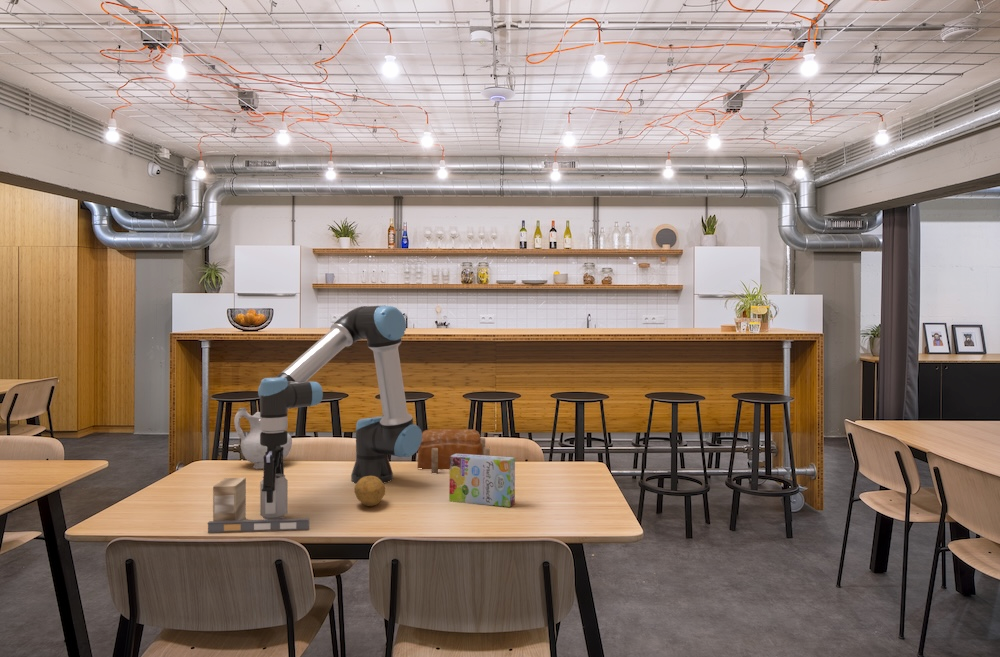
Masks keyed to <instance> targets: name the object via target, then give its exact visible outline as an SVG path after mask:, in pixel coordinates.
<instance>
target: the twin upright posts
mask: <svg viewBox="0 0 1000 657" xmlns="http://www.w3.org/2000/svg"><path fill="white" fill-rule="evenodd" d="M480 438H481V444H482V453H483V455H486V456H491V454H490V453H491V448H490V447H489V446H486V438H485V437H480ZM432 473H438V474H439V470H438V448H432V470H431V474H432Z"/></svg>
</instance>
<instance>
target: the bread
mask: <svg viewBox="0 0 1000 657" xmlns="http://www.w3.org/2000/svg"><path fill="white" fill-rule="evenodd" d="M481 438H482V437H481V434H480V432H479V431H477V430H476V429H472V428H471V429H469V428H467V429H465V428H464V429H461V428H437V429H436V428H435V429H426V430H423V431H422V441H421V444H420V446H419V448H418V450H417V452H418V453H417V469H418V468H422V469H432V448H438V469H450V456H452V455H454V454H471V455H483V453H482V444H481Z"/></svg>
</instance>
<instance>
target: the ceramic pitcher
mask: <svg viewBox="0 0 1000 657" xmlns="http://www.w3.org/2000/svg"><path fill="white" fill-rule="evenodd" d="M247 409H248V408H247V407H240V408H238V409H237V411H236V414H235V415H234V418H233V419H234V421H233V423H234V428H235V431H236V433H237V435H238V437H239V438H240V450H241V453H242V455H243V457H244V459H246V460H247V461H248V462H250V463H254V464H253V467H252V468H253V469H254V470H255V469H256V470H264V458H263V457H264V455H265V453H266V452H267V446H262V445H261V444H260V433H261V432H263V431H261V430H260V424H261V423H259V422H258V421H259V420H260V411H256V412H255V413H254V414H253V415H251V414H250V413H249V412H248V411H247ZM242 418H245V419H246V420H247V421H248V422H249V426H250V428H249V429H250V430H249V432H248V434H246V436H245V434H244V431H243V430H242V428H241V419H242ZM292 446H293V439H292V435H290V434H289V433H288V432H287V443H286V444H285V445H281V447H283V448H284V449H283V459H285V458H286V457H287V456H288V455H289V454H290V452H291V450H292ZM283 464H284V466H285V465H286V463H283Z"/></svg>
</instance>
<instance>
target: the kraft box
mask: <svg viewBox="0 0 1000 657" xmlns="http://www.w3.org/2000/svg"><path fill="white" fill-rule="evenodd" d="M246 479H247V478H246V477H227V478H226V477H225V478H223V479H221V480H220V481H219V482H217V483H216V484H215V485H214V486H213V488H212V521H234V520H246V516H247V514H246V512H247V510H246V508H247V506H246V505H247V502H246V500H247V499H246V498H247V495H246V493H247V492H246V491H247V490H246V489H247V488H246V487H247V485H246V484H247V482H246Z"/></svg>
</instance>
